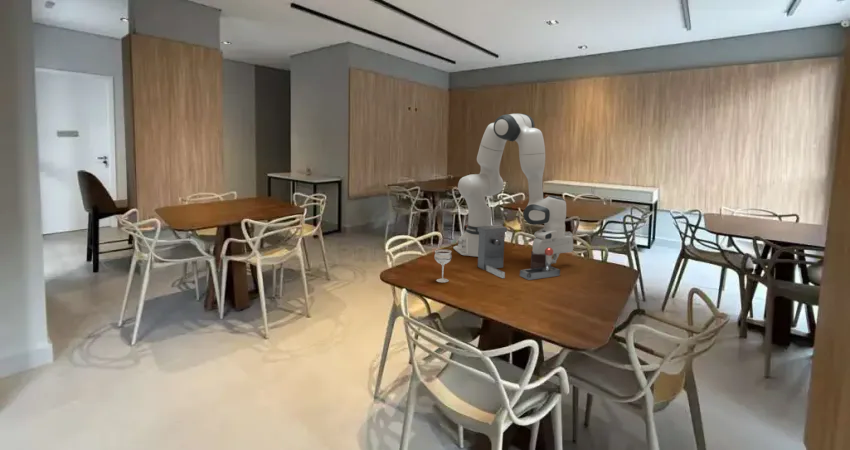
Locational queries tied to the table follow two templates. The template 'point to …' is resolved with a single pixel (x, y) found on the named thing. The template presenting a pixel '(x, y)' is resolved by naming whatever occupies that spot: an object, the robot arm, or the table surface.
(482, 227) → the grey coffee machine
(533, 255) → the box
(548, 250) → the lever
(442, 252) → the wineglass
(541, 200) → the robot arm
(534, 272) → the lever rail
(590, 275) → the table surface
